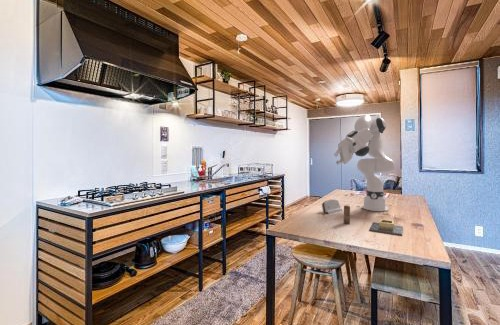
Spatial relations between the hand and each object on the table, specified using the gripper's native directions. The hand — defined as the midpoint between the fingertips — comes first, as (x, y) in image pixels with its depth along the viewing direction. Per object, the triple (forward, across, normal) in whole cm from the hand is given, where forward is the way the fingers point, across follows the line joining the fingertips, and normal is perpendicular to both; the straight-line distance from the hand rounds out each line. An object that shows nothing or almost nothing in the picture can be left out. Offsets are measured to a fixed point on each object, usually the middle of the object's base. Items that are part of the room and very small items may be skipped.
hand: (335, 159), depth 170 cm
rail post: (+22, -17, +30) cm, 41 cm away
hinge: (+20, -39, +9) cm, 45 cm away
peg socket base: (+9, -16, +47) cm, 51 cm away
